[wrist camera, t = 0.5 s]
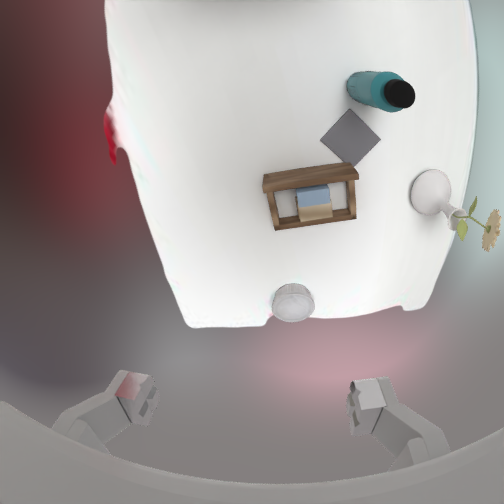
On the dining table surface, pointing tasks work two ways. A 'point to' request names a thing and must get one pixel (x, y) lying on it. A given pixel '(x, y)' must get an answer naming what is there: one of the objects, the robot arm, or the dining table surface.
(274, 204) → the brown wooden drawer
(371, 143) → the mat
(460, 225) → the flower in vase
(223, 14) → the dining table surface
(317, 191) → the light blue block
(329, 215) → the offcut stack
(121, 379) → the robot arm
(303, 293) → the ramekin
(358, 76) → the beverage bottle
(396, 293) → the dining table surface
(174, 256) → the dining table surface
